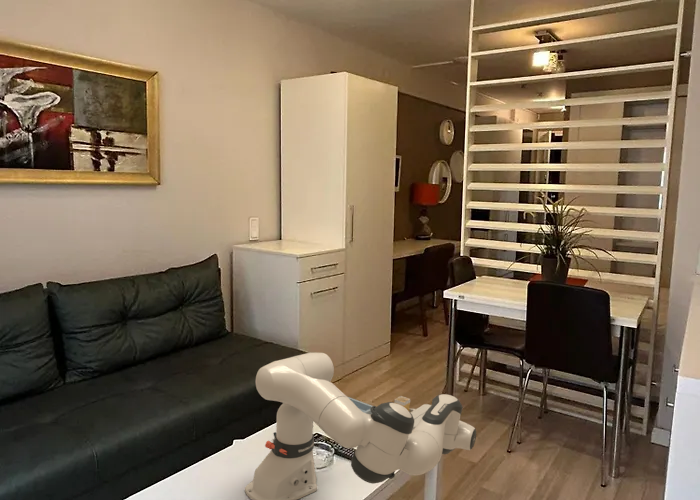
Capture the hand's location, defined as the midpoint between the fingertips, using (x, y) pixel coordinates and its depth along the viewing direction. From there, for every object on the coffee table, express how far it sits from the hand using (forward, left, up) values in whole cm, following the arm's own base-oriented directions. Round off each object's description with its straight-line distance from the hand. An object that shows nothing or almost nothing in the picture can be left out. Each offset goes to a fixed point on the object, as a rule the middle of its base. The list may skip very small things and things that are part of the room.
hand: (399, 412), depth 191 cm
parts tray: (-3, +22, -8) cm, 24 cm away
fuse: (0, -1, -8) cm, 8 cm away
